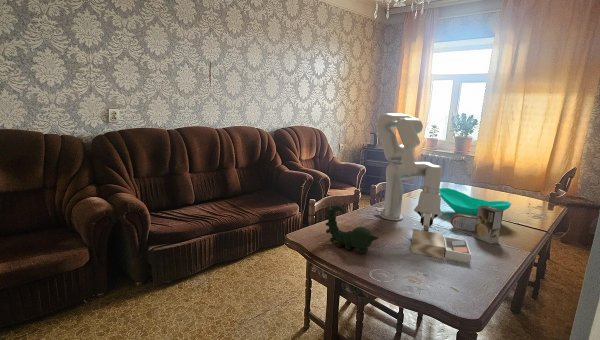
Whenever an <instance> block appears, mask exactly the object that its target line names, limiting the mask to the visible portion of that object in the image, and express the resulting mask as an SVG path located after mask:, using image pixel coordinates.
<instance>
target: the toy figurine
mask: <svg viewBox="0 0 600 340" xmlns="http://www.w3.org/2000/svg"><path fill="white" fill-rule="evenodd" d="M338 211H341V212H342V213H344V212H345V210H344V208H343V207H342V206H341V205H334V206H332V207H331V208H328V210H326V211H325V214H327V216H325V219H326V220H327V222H326V223H325V226H326V227H328V228H327V229H326V230H325V233H327V234H331V237H330V239H329V241H330V242H331V243H334V242H335V241H336V246H337V248H341V247H343V246H344V248H345V250H347V251H348V250H351V249H352V248H355V249H358V252H359V253H360V254H361V255H365V254H366V253H367V252H368V251H369V247H370V246H371V245H372V243H373V241H377V240H378V239H379V237H378V236H376V235H374V234H373V233H372V232H371V230H370V229H368V228H367V227H365V226H357V227H355V228H353V229H352V230H348V231H343V230H340V228H339V226H338V221H337V220H336V219H337V216H336V212H338Z"/></svg>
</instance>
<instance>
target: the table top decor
mask: <svg viewBox="0 0 600 340" xmlns="http://www.w3.org/2000/svg"><path fill="white" fill-rule="evenodd" d="M439 193H440V195H441V200H443V201H444V203H446V204H447V206H448V207H450V209H452V210H453V211H454V212H455V213H456V214H465V215H471V216H477V213H478V207H479V206H486V205H487V206H490V207H493V208H496V209H499V210H502V211H503V212H504V211H506V210H508V209H509V208H510V207H511V206H512V202H510V201H506V200H491V201H490V200H484V199H480V198H476V197H472V196H470V195H467V194H466V193H464V192H461V191H459V190H456V189H453V188H448V187H441V188H440V189H439Z"/></svg>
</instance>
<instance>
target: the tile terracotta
mask: <svg viewBox="0 0 600 340" xmlns="http://www.w3.org/2000/svg"><path fill="white" fill-rule="evenodd" d="M453 249H454V251H457V252H462V253H467V254H468V251H467V248H466V247H453Z"/></svg>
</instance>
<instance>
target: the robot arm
mask: <svg viewBox="0 0 600 340" xmlns="http://www.w3.org/2000/svg"><path fill="white" fill-rule="evenodd" d="M423 128H424V125H423V122H422V120H421V119H419V118H417V117H414V116H412V115H409V114H405V113H395V112H393V113H392V112H387V113H383V114H381V115H380V116H379V117H378V119H377V122H376V129H377V132H378V135H379V137H380V141H381V144H382V149H383V153H384V157H385V159H386V161H388V162H393V163H389V164H388V165H387V166H386V169H385V178H386V181H385V182H386V183H385V184H386V185H385V193H384V203H383V207H381V208H380V207H375V211H376V212H378V213H380V214H379V215H380V217H381V218H383V219H385V220H388V221H394V222H395V221H402V220H403V219H404V216H403V215H402V214H401V212H402V204H403V195H404V184H403V182H402V180H403V181H404V180H412V179H414V178H418V177H419V178H420V177H422V178H423V177H424V178H423V185H422V186H421V185H419V189H420V190H421V191H420V193H419V197H418V201H417V205H416V206H415V207H414V209H413V211H414V212H415V213H416V214H417V215H419V217H420V222H419V223H420V224H421V226H422V227H423V222H424V213H430V214H431V218H430V225H429V226H428V227H430V228H431V227H432V226H433V224H434V219H436V218H437V217H441V216H443V213H442V211H441V203H442V202H441V201H442V197H441V195H440V193H439V189H440V187H441V181H442V176H443V175H442V174H443V167H442V166H441V165H439V164H438V165H437V164H433V163H431V162H428V161H415V158H414V154H413V150H414V149H416V148H418V147H419V145H421V140H420V137H419V135H418V134H420V133H421V132H422V131H423ZM392 129H396V130H397V133H398V136H399V138H400V140H401V143H402V144H399V142H398V139H397V138H398V137H397V135H396V133H394V132H393V130H392Z"/></svg>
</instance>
